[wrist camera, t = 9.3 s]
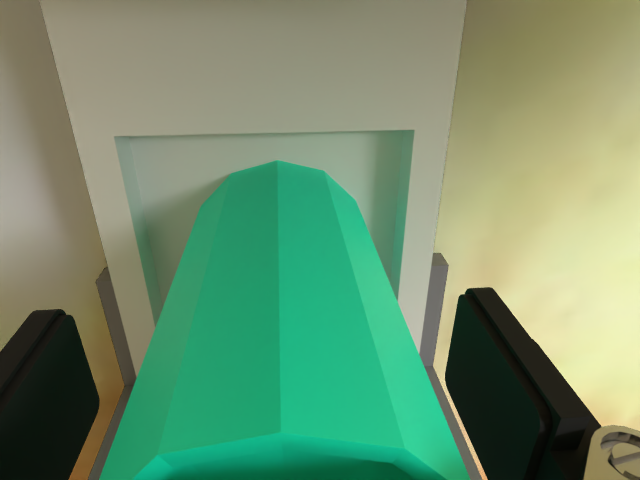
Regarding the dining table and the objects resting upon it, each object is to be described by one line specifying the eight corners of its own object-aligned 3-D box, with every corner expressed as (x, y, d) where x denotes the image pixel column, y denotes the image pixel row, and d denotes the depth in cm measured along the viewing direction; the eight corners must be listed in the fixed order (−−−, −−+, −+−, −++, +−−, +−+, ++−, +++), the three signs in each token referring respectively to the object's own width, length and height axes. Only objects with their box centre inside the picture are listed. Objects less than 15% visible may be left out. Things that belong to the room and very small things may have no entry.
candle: (204, 315, 17) (85, 838, 6) (181, 162, 14) (-103, 640, 3) (361, 307, 17) (497, 781, 7) (369, 157, 15) (622, 564, 4)
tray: (4, -168, 12) (-743, -643, 3) (486, -155, 13) (926, -486, 4) (140, 372, 20) (42, 636, 12) (418, 354, 21) (513, 587, 13)
